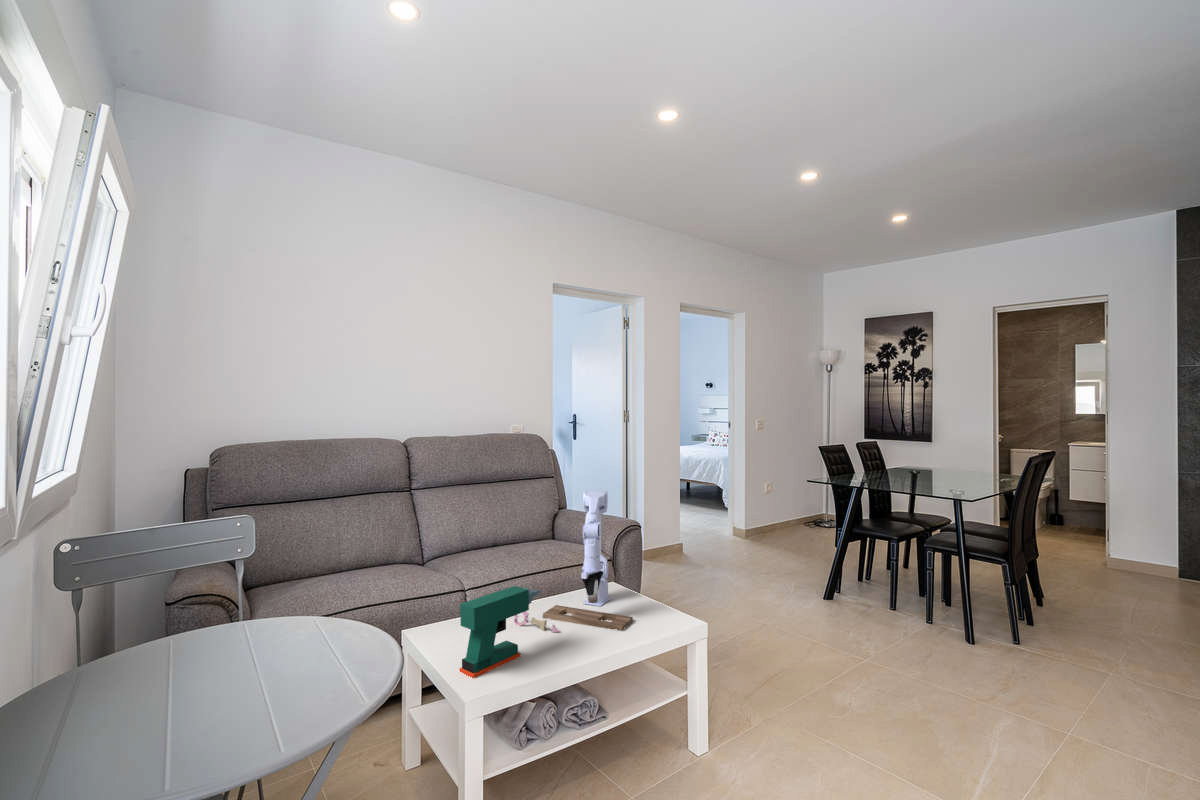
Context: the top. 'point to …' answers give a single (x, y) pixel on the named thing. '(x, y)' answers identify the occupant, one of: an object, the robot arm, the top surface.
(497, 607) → the power tool
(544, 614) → the walnut board
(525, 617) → the decorative key
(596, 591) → the steel rod
